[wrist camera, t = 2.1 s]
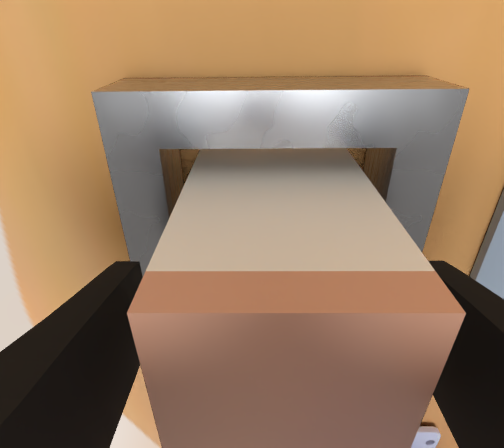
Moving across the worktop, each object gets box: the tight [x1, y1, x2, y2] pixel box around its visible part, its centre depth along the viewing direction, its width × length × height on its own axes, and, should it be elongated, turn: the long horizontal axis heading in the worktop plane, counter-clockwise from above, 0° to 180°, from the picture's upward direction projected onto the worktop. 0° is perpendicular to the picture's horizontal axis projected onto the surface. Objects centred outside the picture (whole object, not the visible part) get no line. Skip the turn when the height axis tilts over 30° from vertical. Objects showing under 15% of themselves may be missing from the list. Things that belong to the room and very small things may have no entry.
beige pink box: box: [127, 148, 466, 448], centre depth 10 cm, size 5×5×8 cm
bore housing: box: [91, 76, 469, 276], centre depth 12 cm, size 10×10×2 cm
